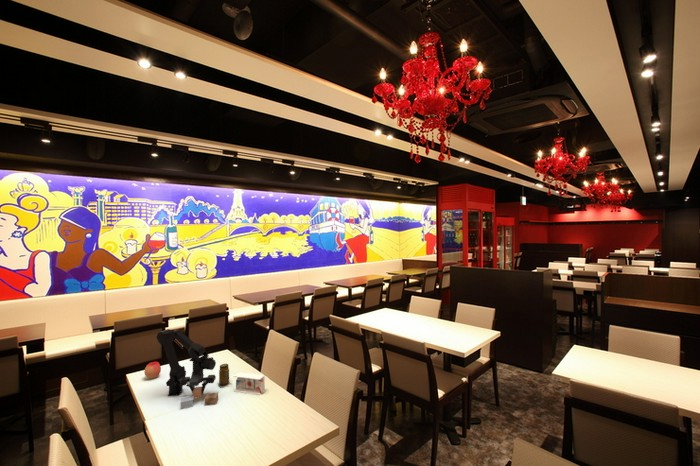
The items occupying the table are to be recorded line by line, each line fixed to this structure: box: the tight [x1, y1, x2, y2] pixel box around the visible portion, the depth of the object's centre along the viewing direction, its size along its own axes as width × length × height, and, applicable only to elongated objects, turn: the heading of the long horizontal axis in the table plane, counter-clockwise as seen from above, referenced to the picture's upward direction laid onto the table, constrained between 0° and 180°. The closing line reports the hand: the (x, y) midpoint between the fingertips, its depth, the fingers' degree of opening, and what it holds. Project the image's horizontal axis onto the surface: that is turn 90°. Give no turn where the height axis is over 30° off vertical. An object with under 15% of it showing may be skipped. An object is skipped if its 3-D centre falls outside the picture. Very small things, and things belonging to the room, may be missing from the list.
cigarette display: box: [232, 372, 266, 395], centre depth 192 cm, size 20×6×9 cm, turn 75°
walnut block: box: [204, 392, 219, 406], centre depth 179 cm, size 6×6×4 cm
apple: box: [143, 361, 162, 380], centre depth 212 cm, size 10×10×10 cm
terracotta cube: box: [192, 385, 204, 399], centre depth 186 cm, size 4×4×4 cm
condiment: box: [216, 363, 233, 388], centre depth 201 cm, size 7×8×12 cm
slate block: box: [180, 394, 194, 410], centre depth 176 cm, size 6×6×4 cm
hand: (198, 394), depth 186 cm, fingers closed on terracotta cube, 4 cm apart
